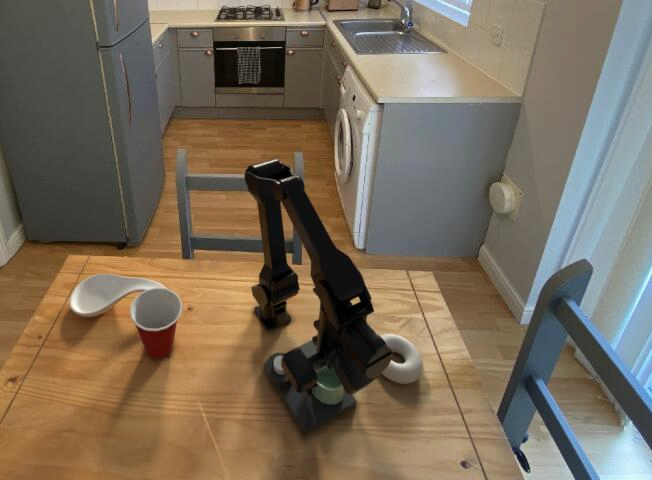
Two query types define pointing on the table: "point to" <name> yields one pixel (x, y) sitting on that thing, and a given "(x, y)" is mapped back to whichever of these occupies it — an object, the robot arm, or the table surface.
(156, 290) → the plastic cup
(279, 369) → the button
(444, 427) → the table surface
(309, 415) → the scale
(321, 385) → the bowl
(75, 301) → the spoon rest
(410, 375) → the donut
